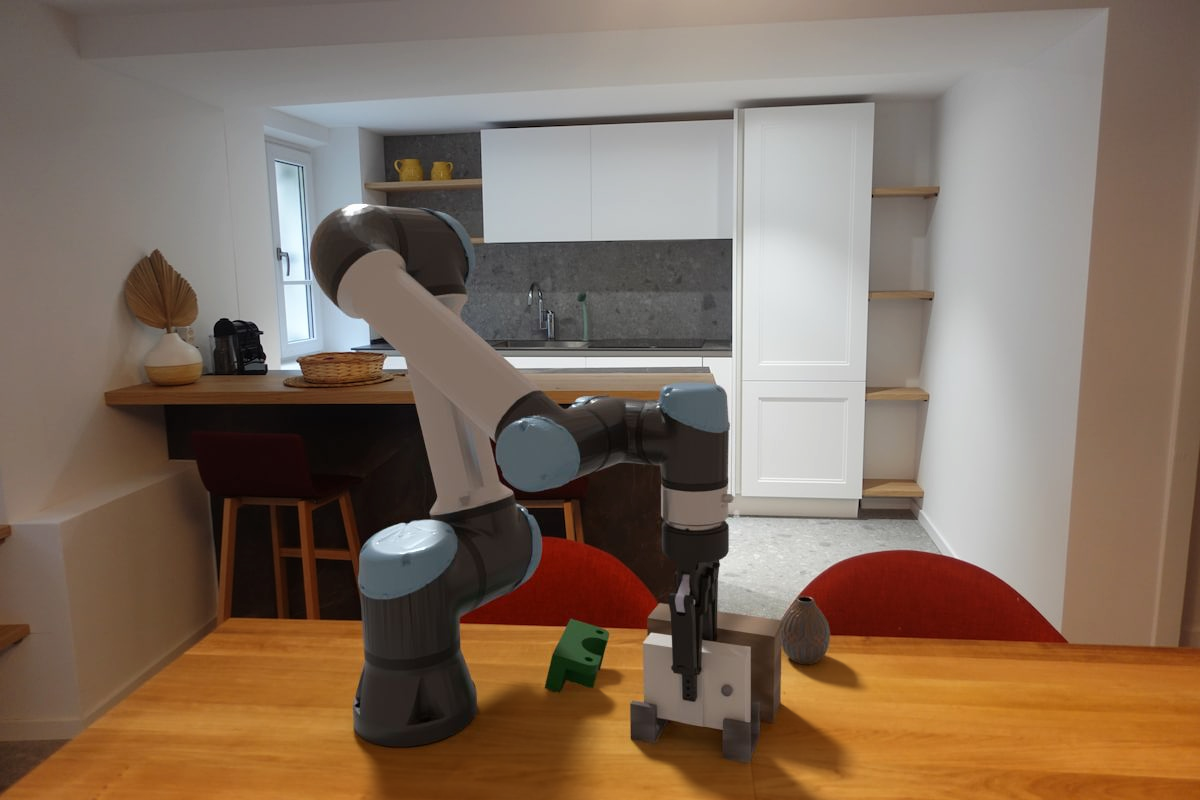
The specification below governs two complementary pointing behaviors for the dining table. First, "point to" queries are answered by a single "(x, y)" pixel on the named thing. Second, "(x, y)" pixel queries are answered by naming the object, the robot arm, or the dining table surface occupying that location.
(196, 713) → the dining table surface
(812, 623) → the vase
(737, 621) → the cabinet
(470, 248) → the robot arm
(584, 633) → the clamp
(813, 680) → the dining table surface
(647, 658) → the door
